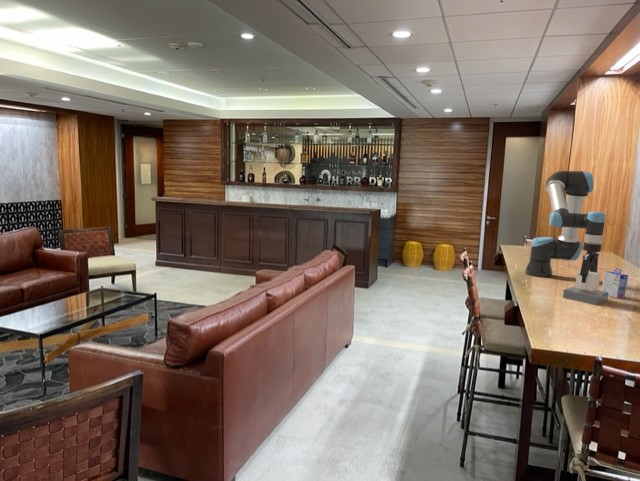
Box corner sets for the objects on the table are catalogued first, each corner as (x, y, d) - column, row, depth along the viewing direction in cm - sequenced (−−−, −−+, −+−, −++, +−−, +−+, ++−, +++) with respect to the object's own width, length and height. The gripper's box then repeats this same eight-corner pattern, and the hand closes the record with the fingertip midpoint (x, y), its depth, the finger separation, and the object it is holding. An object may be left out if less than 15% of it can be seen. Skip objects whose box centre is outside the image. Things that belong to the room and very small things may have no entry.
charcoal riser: (575, 293, 239) (576, 285, 239) (607, 299, 228) (608, 292, 228) (562, 297, 229) (563, 289, 229) (595, 304, 218) (596, 296, 217)
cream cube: (581, 285, 233) (583, 270, 232) (598, 289, 227) (600, 273, 226) (574, 287, 228) (576, 272, 227) (592, 291, 222) (594, 275, 221)
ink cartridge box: (625, 298, 233) (629, 270, 231) (617, 298, 232) (621, 270, 229) (608, 293, 242) (612, 266, 240) (600, 293, 241) (604, 266, 239)
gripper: (593, 245, 215) (586, 292, 218) (608, 242, 228) (602, 286, 232) (576, 243, 221) (570, 288, 224) (592, 240, 234) (586, 283, 237)
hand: (586, 287), depth 228 cm, fingers closed on cream cube, 8 cm apart
